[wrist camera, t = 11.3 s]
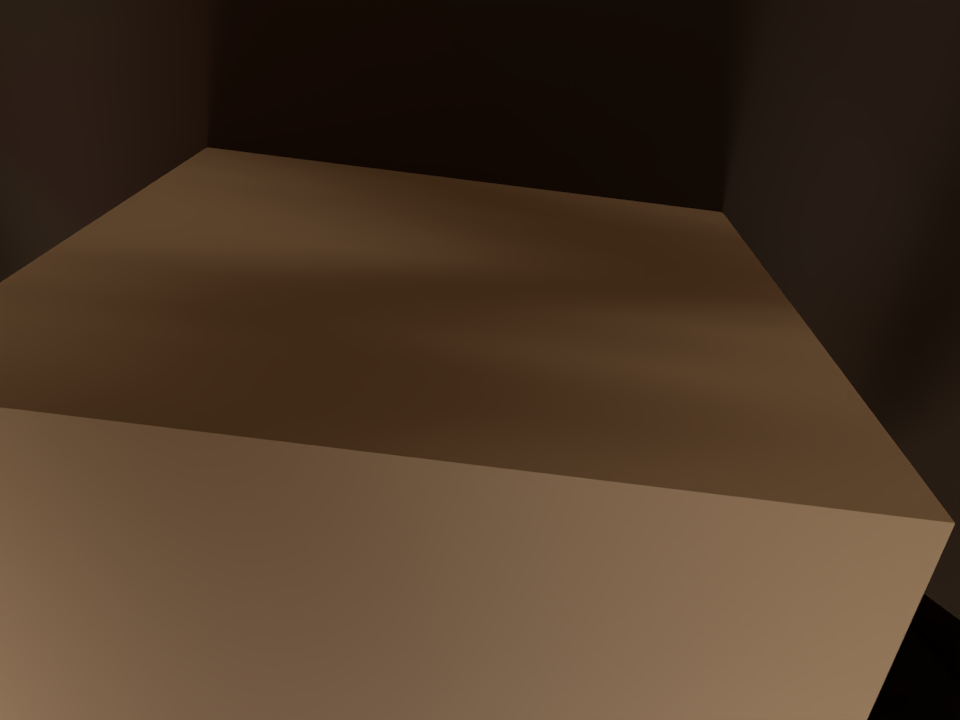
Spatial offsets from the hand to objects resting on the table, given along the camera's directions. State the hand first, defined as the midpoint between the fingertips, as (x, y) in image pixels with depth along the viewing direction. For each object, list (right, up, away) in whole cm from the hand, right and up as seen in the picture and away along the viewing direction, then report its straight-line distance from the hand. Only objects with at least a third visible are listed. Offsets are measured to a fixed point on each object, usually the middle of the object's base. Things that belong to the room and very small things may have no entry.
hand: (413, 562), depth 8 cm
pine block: (0, +2, +1) cm, 2 cm away
